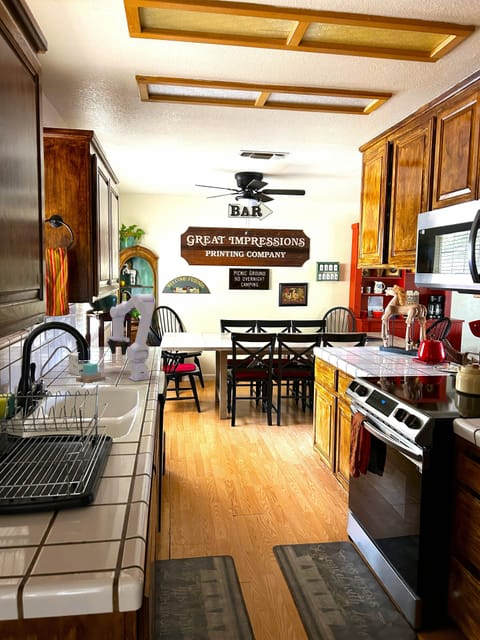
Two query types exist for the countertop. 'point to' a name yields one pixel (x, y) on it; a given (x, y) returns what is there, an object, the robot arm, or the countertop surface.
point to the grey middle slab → (90, 375)
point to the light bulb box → (76, 364)
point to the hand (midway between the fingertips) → (118, 354)
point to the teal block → (90, 368)
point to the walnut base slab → (90, 379)
